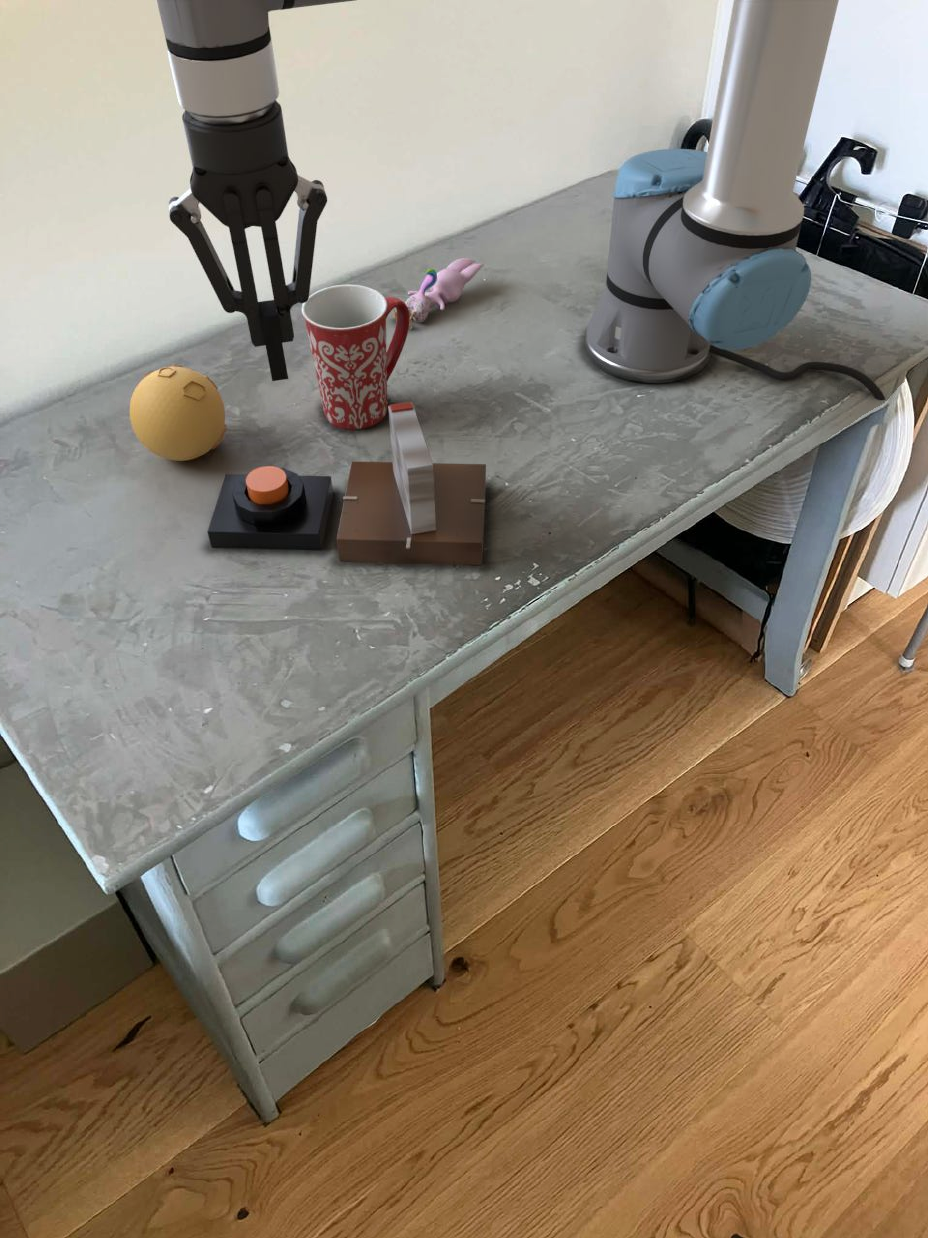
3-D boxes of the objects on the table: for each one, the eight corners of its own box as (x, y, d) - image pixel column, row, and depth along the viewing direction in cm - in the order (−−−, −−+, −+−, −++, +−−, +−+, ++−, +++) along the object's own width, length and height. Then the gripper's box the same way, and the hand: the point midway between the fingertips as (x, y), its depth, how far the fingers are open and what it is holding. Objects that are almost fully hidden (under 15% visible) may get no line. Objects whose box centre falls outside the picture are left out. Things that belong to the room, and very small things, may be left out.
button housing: (333, 492, 107) (329, 462, 104) (321, 550, 101) (316, 520, 98) (229, 490, 108) (222, 459, 105) (211, 548, 102) (203, 517, 99)
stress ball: (215, 484, 108) (196, 405, 101) (127, 474, 110) (102, 396, 102) (244, 428, 115) (229, 350, 108) (162, 419, 116) (141, 342, 109)
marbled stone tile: (436, 530, 98) (433, 462, 92) (411, 534, 98) (407, 466, 92) (415, 467, 105) (412, 400, 99) (393, 470, 105) (387, 403, 99)
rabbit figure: (422, 343, 129) (498, 280, 135) (414, 304, 124) (493, 240, 130) (386, 326, 132) (462, 265, 138) (378, 287, 127) (457, 226, 133)
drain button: (291, 479, 103) (289, 466, 102) (285, 505, 100) (282, 491, 99) (252, 479, 103) (249, 465, 102) (245, 504, 100) (242, 491, 99)
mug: (346, 446, 113) (333, 337, 103) (300, 409, 117) (284, 302, 108) (435, 402, 118) (431, 296, 108) (388, 369, 123) (381, 264, 113)
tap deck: (487, 479, 108) (487, 456, 106) (482, 573, 99) (482, 549, 96) (354, 477, 109) (351, 453, 107) (336, 569, 99) (333, 545, 97)
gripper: (310, 77, 81) (342, 340, 98) (142, 95, 79) (205, 359, 96) (322, 113, 76) (354, 384, 93) (143, 133, 74) (210, 405, 91)
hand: (278, 371), depth 94 cm, fingers closed
